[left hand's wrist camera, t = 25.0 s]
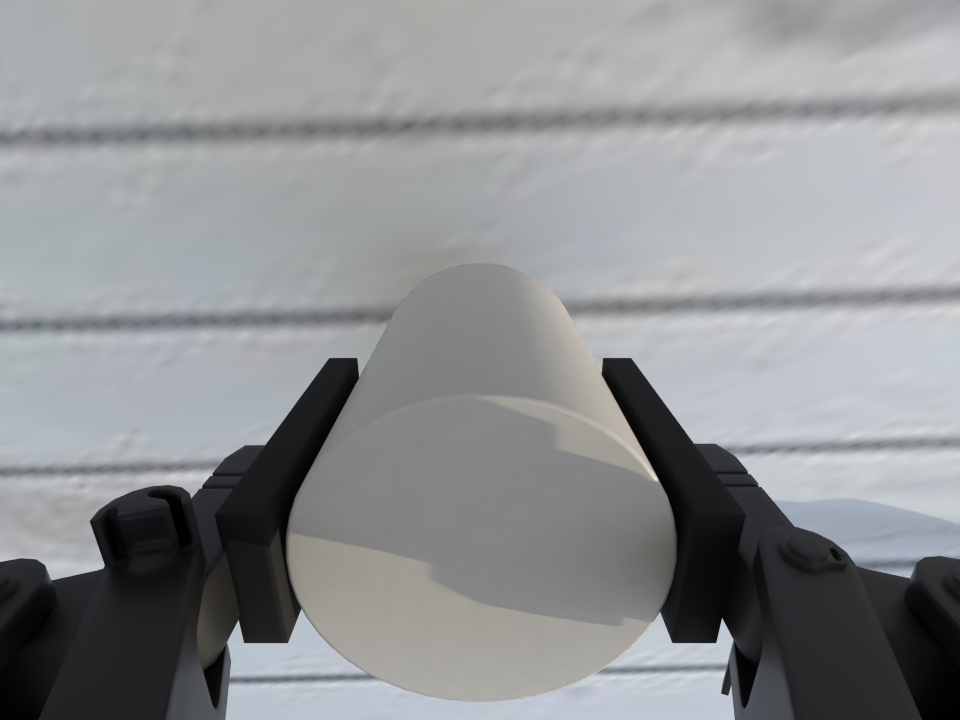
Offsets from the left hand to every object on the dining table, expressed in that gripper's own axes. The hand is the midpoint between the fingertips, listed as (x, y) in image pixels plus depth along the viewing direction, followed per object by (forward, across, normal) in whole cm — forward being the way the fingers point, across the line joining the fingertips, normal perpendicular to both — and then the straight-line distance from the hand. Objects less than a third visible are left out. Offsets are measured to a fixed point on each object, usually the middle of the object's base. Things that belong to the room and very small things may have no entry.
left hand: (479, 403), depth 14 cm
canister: (+3, 0, 0) cm, 3 cm away
